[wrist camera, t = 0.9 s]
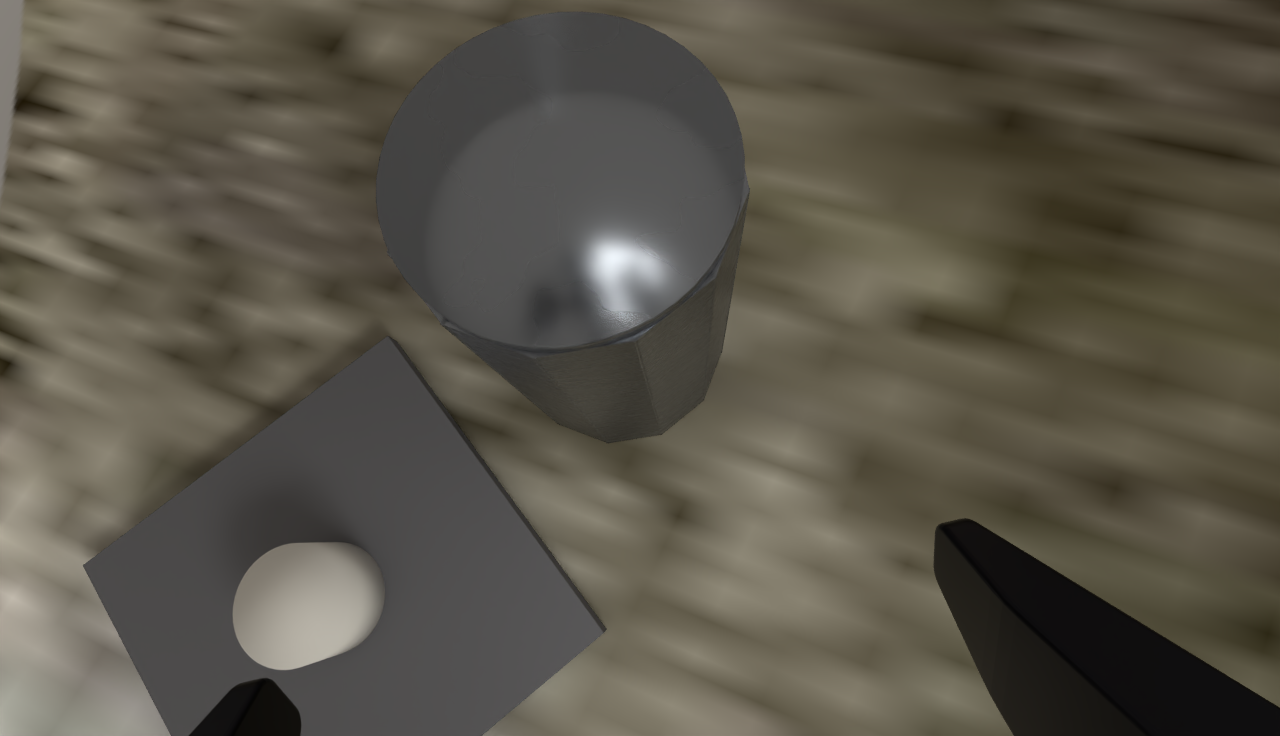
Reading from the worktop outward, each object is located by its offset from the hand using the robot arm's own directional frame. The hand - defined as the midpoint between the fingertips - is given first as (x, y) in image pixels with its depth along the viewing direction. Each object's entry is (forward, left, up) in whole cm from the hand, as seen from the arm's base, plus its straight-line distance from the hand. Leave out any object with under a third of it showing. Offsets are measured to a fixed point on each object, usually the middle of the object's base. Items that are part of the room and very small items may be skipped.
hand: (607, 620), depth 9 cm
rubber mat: (+6, +9, -14) cm, 18 cm away
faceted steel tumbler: (+7, -4, -14) cm, 16 cm away
